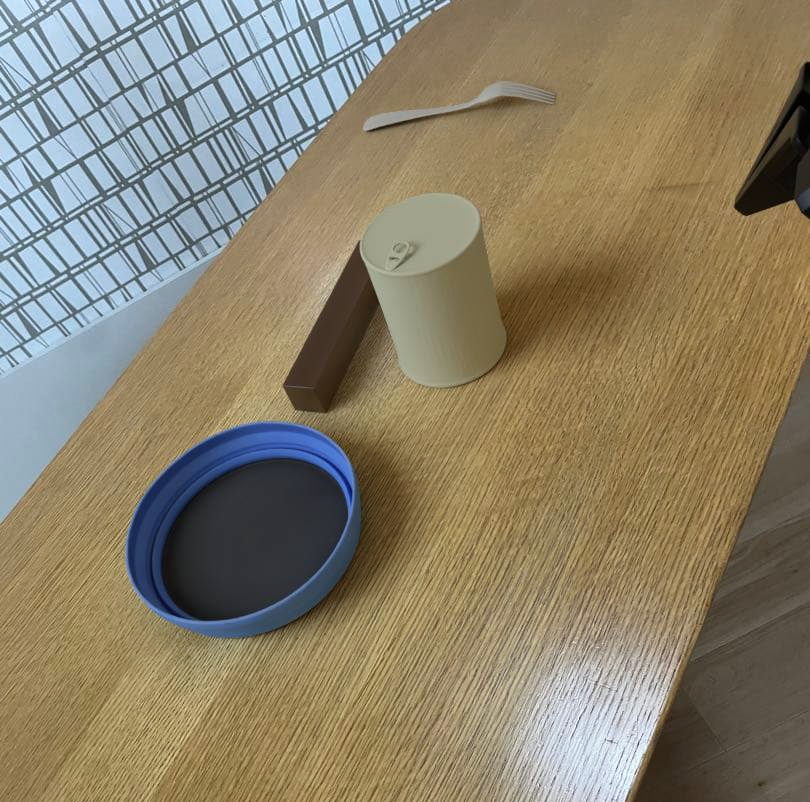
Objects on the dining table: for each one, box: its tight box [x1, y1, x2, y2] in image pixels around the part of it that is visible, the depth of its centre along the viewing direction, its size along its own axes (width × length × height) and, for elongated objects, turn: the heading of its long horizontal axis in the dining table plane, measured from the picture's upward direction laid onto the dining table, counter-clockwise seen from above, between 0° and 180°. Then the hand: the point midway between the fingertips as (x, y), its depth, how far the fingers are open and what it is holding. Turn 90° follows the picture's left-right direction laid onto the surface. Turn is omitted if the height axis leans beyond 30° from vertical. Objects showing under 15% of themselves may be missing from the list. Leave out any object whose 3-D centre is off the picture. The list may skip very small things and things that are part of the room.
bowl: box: [124, 420, 362, 639], centre depth 62 cm, size 18×18×4 cm
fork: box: [362, 80, 556, 132], centre depth 90 cm, size 3×21×3 cm, turn 79°
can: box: [360, 192, 508, 389], centre depth 65 cm, size 9×9×12 cm
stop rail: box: [282, 239, 380, 414], centre depth 73 cm, size 3×18×3 cm, turn 160°
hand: (739, 208), depth 52 cm, fingers closed
